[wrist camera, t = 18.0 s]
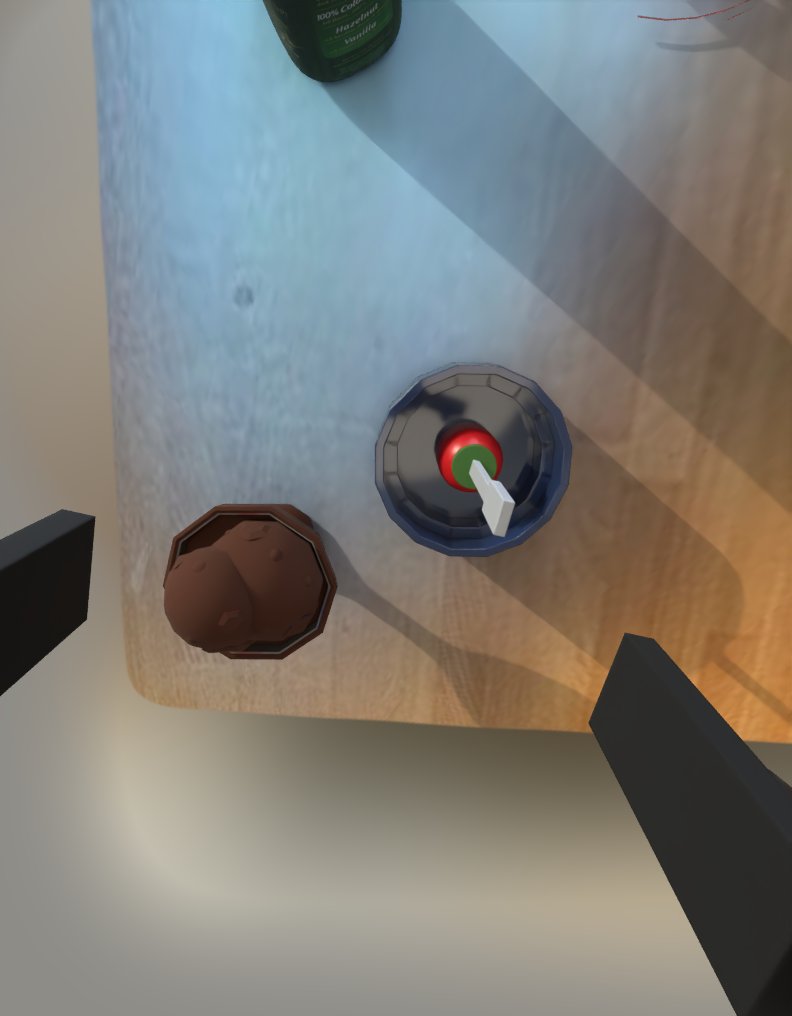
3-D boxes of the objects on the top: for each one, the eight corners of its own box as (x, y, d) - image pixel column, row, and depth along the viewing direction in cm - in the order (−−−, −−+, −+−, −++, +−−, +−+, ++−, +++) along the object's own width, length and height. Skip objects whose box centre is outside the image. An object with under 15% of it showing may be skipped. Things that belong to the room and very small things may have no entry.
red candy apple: (429, 475, 41) (444, 552, 26) (444, 416, 40) (470, 461, 25) (487, 489, 42) (536, 573, 26) (504, 430, 40) (566, 483, 25)
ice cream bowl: (247, 613, 46) (176, 737, 31) (192, 491, 43) (86, 567, 28) (366, 578, 45) (349, 690, 30) (319, 450, 42) (275, 507, 27)
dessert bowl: (351, 403, 40) (344, 411, 36) (520, 333, 39) (536, 332, 34) (415, 556, 44) (416, 582, 39) (573, 498, 42) (594, 518, 38)
